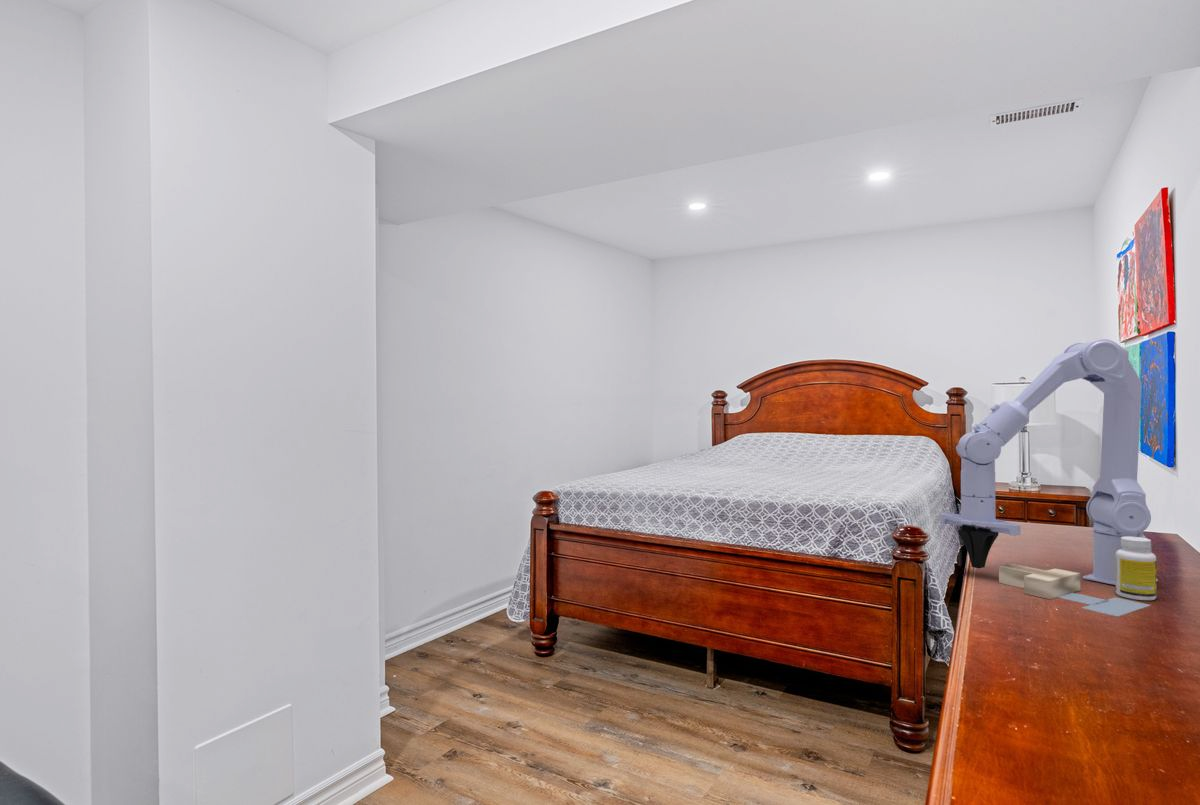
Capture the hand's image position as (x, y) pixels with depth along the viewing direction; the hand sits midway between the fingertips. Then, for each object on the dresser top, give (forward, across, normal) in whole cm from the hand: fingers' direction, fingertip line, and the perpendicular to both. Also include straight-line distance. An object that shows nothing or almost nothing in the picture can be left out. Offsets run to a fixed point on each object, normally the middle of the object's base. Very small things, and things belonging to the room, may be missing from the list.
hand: (978, 567), depth 127 cm
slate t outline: (+2, +20, 0) cm, 20 cm away
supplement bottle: (+2, +22, +9) cm, 23 cm away
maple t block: (+2, +10, 0) cm, 10 cm away
